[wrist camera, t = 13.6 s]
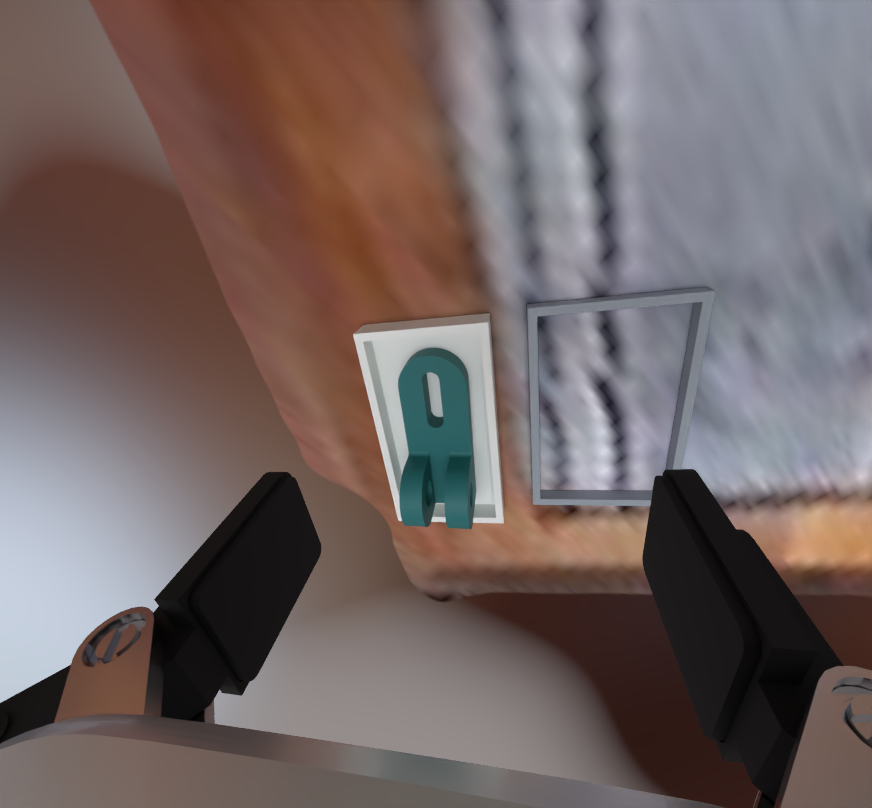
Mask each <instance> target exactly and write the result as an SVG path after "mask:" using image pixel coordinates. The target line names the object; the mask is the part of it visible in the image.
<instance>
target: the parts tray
mask: <svg viewBox="0 0 872 808" xmlns="http://www.w3.org/2000/svg"><path fill="white" fill-rule="evenodd" d="M353 336H354V340H355V344H356V348H357V353H358V357H359V361H360V365H361V369H362V373H363V377H364V381H365V385H366V389H367V393H368V398H369V402H370V406H371V410H372V414H373V418H374V422H375V426H376V430H377V434H378V438H379V443H380V447H381V451H382V455H383V459H384V463H385V467H386V471H387V475H388V479H389V483H390V488H391V492H392V496H393V500H394V504H395V508H396V512H397V516H398V520H399V521H402V518H401V514H400V502H399V496H400V483H401V477H402V472H403V469H404V466H405V464H406V461H407V459H408V455H409V451H408V445H407V439H406V433H405V427H404V421H403V414H402V408H401V402H400V396H399V390H398V379H399V375H400V373H401V371H402V369H403V368H404V366H405V364H406V363H407V361H408V360H409V358H410V357H411V356H412V355H413V354H415V353H416V352H418V351H420V350H422V349H425V348H442V349H445V350H448V351H450V352H452V353H453V354H455V355H456V356H457V357H459V358H460V359H461V361H462V362H463V363H464V365H465V367H466V369H467V372H468V377H469V391H470V406H471V420H472V435H473V450H474V464H475V479H476V499H475V508H474V517H473V523H504V499H503V485H502V472H501V458H500V445H499V431H498V418H497V404H496V391H495V377H494V364H493V350H492V337H491V323H490V313H485V314H475V315H464V316H453V317H442V318H431V319H421V320H410V321H399V322H388V323H378V324H367V325H363V326H362V327H361V328H359V329H358V330H357V331H356V332H355V333H354V334H353ZM427 380H428V388H429V396H430V405H431V412H432V413H433V415H435V416H437V417H443V410H442V401H441V392H440V382H439V378H438V376H437V375H436V374H434V373H431V372H429V373H427ZM431 522H446V519H445V505H444V503H436V504H435V508H434V513H433V517H432V520H431Z"/></svg>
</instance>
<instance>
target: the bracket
mask: <svg viewBox="0 0 872 808" xmlns="http://www.w3.org/2000/svg"><path fill="white" fill-rule="evenodd" d="M429 372H431V373H434V374H436V375H437V376H438V378H439V382H440V392H441V401H442V410H443V417H437V416H435V415H433V413H432V412H431V405H430V396H429V388H428V380H427V373H429ZM398 390H399V396H400V402H401V408H402V414H403V421H404V427H405V433H406V439H407V445H408V451H409V455H408V459H407V461H406V464H405V466H404V469H403V472H402V477H401V483H400V496H399V502H400V514H401V518H402V522H403V523H404V525H406V526H423V527H428V526H429V525H430V523H431V520H432V517H433V513H434V508H435V504H436V503H444V505H445V519H446V524H447V527H448V528H462V529H471V528H472V524H473V517H474V508H475V499H476V479H475V464H474V450H473V435H472V420H471V406H470V391H469V377H468V372H467V369H466V367H465V365H464V363H463V362H462V361H461V359H460V358H459V357H457V356H456V355H455V354H453V353H452V352H450V351H448V350H445V349H442V348H425V349H422V350H420V351H418V352H416V353H415V354H413V355H412V356H411V357H410V358H409V360H408V361H407V363H406V364H405V366H404V368H403V369H402V371H401V373H400V375H399V379H398Z"/></svg>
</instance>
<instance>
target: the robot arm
mask: <svg viewBox="0 0 872 808" xmlns="http://www.w3.org/2000/svg"><path fill="white" fill-rule="evenodd" d="M320 554H321V543H320V541H319V538H318V535H317V533H316V530H315V527H314V525H313V522H312V520H311V517H310V514H309V512H308V509H307V506H306V504H305V501H304V499H303V496H302V494H301V491H300V488H299V486H298V483H297V481H296V479H295V478H294V477H292V476H291V475H290V474H289V473H288V472H268V473H266V474H264V475H263V476H262V478H261V479H260V480H259V481H258V482H257V483H256V484H255V485H254V486H253V488H252V489H251V490H250V491H249V492H248V493H247V495H246V496H245V497H244V498H243V499H242V500H241V502H239V504H238V505H237V506H236V507H235V508H234V509H233V510H232V512H231V513H230V514H229V515H228V516H227V517H226V519H225V520H224V521H223V522H222V523H221V524H220V525H219V526H218V528H217V529H216V530H215V531H214V532H213V533H212V534H211V535H210V537H209V538H208V539H207V540H206V541H205V543H204V544H203V545H202V546H201V547H200V548H199V549H198V550H197V552H196V553H195V554H194V555H193V556H192V557H191V558H190V559H189V561H188V562H187V563H186V564H185V565H184V566H183V568H182V569H181V570H180V571H179V572H178V573H177V574H176V575H175V577H174V578H173V579H172V580H171V581H170V582H169V583H168V584H167V586H166V587H165V588H164V589H163V590H162V591H161V592H160V594H159V595H158V596H157V597H156V598H155V601H156V602H157V604H158V605H159V607H158V608H157V609H156V610H155V612H154V613H153V612H152V611H151V610H150V609H149V608H146V607H135V608H130V609H128V610H125V611H122V612H120V613H118V614H116V615H114V616H113V617H111V618H109V619H108V620H106V621H105V622H103V623H102V624H101V625H99V626H98V627H97V628H96V629H95V630H94V631H92V632H91V633H90V634H89V635H88V636H87V637H86V639H85V640H84V641H83V643H82V644H81V645H80V646H79V648H78V649H77V651H76V654H75V655H74V658H73V660H72V663H71V665H70V666H68V667H66V668H64V669H62V670H60V671H59V672H57V673H55V674H53V675H51V676H49V677H48V678H46V679H44V680H42V681H40V682H38V683H37V684H35V685H33V686H31V687H29V688H27V689H25V690H24V691H22V692H20V693H18V694H16V695H14V696H13V697H11V698H9V699H7V700H6V701H3V702H2V703H0V808H724V807H719V806H715V805H711V804H707V803H702V802H697V801H692V800H686V799H680V798H675V797H669V796H664V795H658V794H653V793H647V792H642V791H636V790H630V789H625V788H619V787H613V786H608V785H603V784H597V783H591V782H584V781H578V780H572V779H566V778H560V777H554V776H547V775H541V774H535V773H529V772H522V771H516V770H510V769H504V768H497V767H491V766H485V765H479V764H473V763H466V762H460V761H453V760H447V759H441V758H434V757H428V756H421V755H415V754H409V753H402V752H396V751H390V750H382V749H376V748H370V747H364V746H357V745H351V744H344V743H338V742H331V741H325V740H318V739H311V738H305V737H299V736H291V735H285V734H278V733H272V732H265V731H258V730H251V729H245V728H238V727H231V726H225V725H218V724H215V723H214V722H215V720H214V698H215V696H216V695H217V693H218V691H219V689H220V690H221V692H222V693H227V694H234V695H242V694H243V693H244V691H245V689H246V687H247V685H248V683H249V681H252V680H253V679H254V678H255V677H256V676H257V675H258V673H259V671H260V669H261V667H262V666H263V664H264V662H265V660H266V658H267V656H268V654H269V652H270V650H271V648H272V646H273V644H274V642H275V641H276V639H277V637H278V635H279V633H280V631H281V629H282V627H283V626H284V624H285V622H286V620H287V618H288V616H289V614H290V612H291V610H292V608H293V606H294V604H295V603H296V601H297V599H298V597H299V595H300V593H301V591H302V589H303V587H304V585H305V584H306V582H307V580H308V578H309V576H310V574H311V572H312V570H313V568H314V566H315V565H316V563H317V561H318V559H319V557H320ZM643 566H644V571H645V574H646V576H647V579H648V582H649V585H650V588H651V590H652V593H653V596H654V598H655V601H656V604H657V607H658V609H659V613H660V615H661V618H662V621H663V624H664V626H665V629H666V632H667V634H668V637H669V640H670V643H671V646H672V648H673V651H674V654H675V657H676V659H677V662H678V665H679V668H680V671H681V674H682V676H683V679H684V682H685V685H686V687H687V690H688V693H689V696H690V699H691V701H692V704H693V707H694V710H695V712H696V715H697V718H698V721H699V724H700V726H701V729H702V731H703V733H704V735H705V736H706V737H707V738H708V739H715V741H716V743H717V746H718V749H719V751H720V754H721V756H722V759H723V760H724V761H733V762H739V763H744V765H745V767H746V770H747V772H748V774H749V777H750V779H751V781H752V783H753V784H754V785H755V786H756V787H757V788H758V789H759V792H758V795H757V798H756V801H755V804H754V807H753V808H872V671H871V670H867V669H863V668H859V667H855V666H844V665H843V664H842V663H841V661H840V660H839V658H838V657H837V656H836V654H835V653H834V651H833V650H832V649H831V647H830V646H829V644H828V643H827V642H826V640H825V639H824V637H823V636H822V635H821V633H820V632H819V630H818V629H817V628H816V626H815V625H814V623H813V622H812V620H811V619H810V618H809V616H808V615H807V614H806V612H805V611H804V609H803V608H802V606H801V605H800V604H799V602H798V601H797V599H796V598H795V597H794V595H793V594H792V592H791V591H790V590H789V588H788V587H787V585H786V584H785V583H784V581H783V580H782V578H781V577H780V575H779V574H778V573H777V571H776V570H775V568H774V567H773V566H772V564H771V563H770V561H769V560H768V559H767V557H766V556H765V554H764V553H763V552H762V550H761V549H760V547H759V546H758V545H757V543H756V542H755V540H754V539H753V538H752V537H751V536H750V534H749V533H747V532H746V531H744V530H736V529H735V527H734V526H733V524H732V523H731V521H730V520H729V519H728V517H727V516H726V514H725V513H724V511H723V510H722V508H721V507H720V505H719V504H718V502H717V501H716V499H715V498H714V496H713V495H712V493H711V492H710V491H709V489H708V488H707V486H706V485H705V483H704V482H703V480H702V479H701V477H700V476H699V474H698V473H697V472H696V471H695V470H693V469H667V470H665V471H664V472H663V476H656V477H655V480H654V486H653V492H652V499H651V505H650V512H649V518H648V525H647V531H646V537H645V544H644V550H643Z"/></svg>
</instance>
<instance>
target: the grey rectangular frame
mask: <svg viewBox="0 0 872 808" xmlns="http://www.w3.org/2000/svg"><path fill="white" fill-rule="evenodd" d="M715 293H716V291H715V290H713V289H711V288H709V287H701V288H691V289H680V290H670V291H659V292H649V293H639V294H628V295H618V296H607V297H597V298H586V299H576V300H565V301H555V302H544V303H534V304H527V324H528V359H529V393H530V428H531V462H532V496H533V505H616V506H650V505H651V499H652V492H653V491H568V490H540V453H539V394H538V335H537V317H538V316H549V315H560V314H572V313H583V312H594V311H605V310H617V309H628V308H639V307H651V306H662V305H673V304H684V303H694V306H693V312H692V318H691V324H690V330H689V336H688V342H687V348H686V354H685V360H684V365H683V371H682V377H681V383H680V389H679V395H678V401H677V407H676V413H675V418H674V424H673V430H672V436H671V442H670V448H669V454H668V460H667V466H666V470H667V469H682V464H683V459H684V454H685V449H686V443H687V438H688V433H689V428H690V423H691V417H692V412H693V407H694V402H695V397H696V391H697V386H698V381H699V376H700V371H701V365H702V360H703V355H704V350H705V345H706V339H707V334H708V329H709V324H710V319H711V314H712V308H713V303H714V298H715Z"/></svg>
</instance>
